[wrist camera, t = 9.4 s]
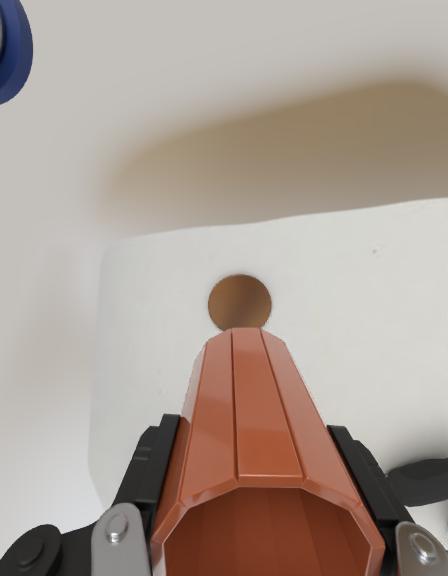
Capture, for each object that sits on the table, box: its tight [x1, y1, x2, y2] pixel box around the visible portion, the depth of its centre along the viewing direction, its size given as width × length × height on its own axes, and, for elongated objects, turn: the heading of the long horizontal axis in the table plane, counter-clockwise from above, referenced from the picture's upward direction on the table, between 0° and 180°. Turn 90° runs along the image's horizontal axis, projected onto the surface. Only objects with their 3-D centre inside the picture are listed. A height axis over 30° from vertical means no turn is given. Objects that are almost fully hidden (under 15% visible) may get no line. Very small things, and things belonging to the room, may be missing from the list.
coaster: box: [208, 274, 271, 331], centre depth 27 cm, size 7×7×1 cm
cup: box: [150, 328, 386, 576], centre depth 11 cm, size 6×6×9 cm
